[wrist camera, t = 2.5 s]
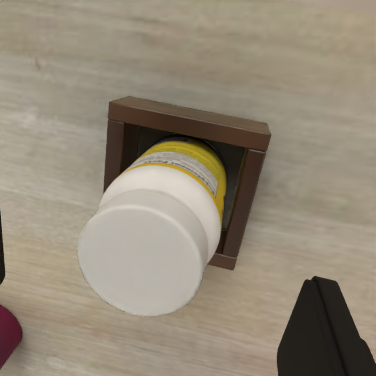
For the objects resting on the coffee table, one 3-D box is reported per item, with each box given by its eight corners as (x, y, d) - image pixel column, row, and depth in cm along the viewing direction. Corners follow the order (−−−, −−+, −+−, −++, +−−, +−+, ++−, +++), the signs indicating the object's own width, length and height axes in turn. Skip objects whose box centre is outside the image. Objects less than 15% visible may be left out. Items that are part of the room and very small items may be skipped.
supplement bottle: (194, 229, 18) (157, 350, 11) (128, 182, 18) (39, 271, 10) (247, 168, 16) (249, 261, 9) (174, 113, 16) (108, 160, 8)
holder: (117, 217, 19) (100, 238, 17) (128, 95, 16) (108, 101, 14) (235, 245, 18) (233, 271, 16) (267, 123, 15) (271, 134, 13)
